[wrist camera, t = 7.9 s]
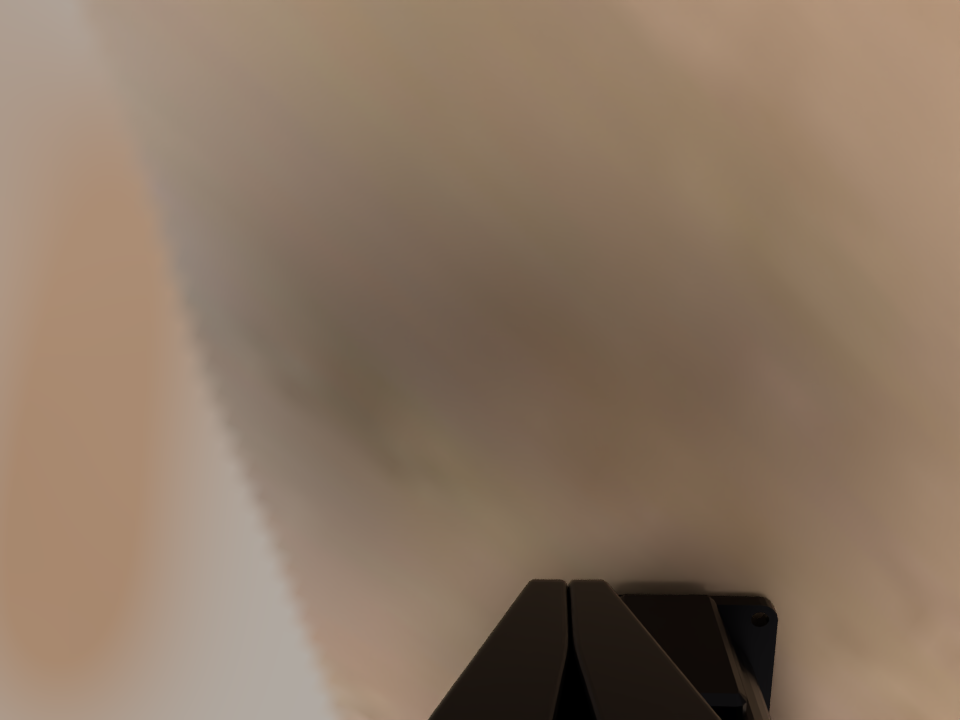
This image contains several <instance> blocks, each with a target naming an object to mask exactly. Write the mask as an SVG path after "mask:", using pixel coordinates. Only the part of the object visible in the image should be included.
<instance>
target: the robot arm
mask: <svg viewBox="0 0 960 720" xmlns="http://www.w3.org/2000/svg"><path fill="white" fill-rule="evenodd" d="M759 612H762V613H765V614H764V615H763V616H762V617H759V618H753V617H752V616H753V615H754V614H756V613H759ZM777 624H778V617H777V613H776V611H775V609H774V606H773V605H772V603H771V602H770V601H769V600H767V599H766V598H763V597H747V596H707V595H651V594H625V595H617V594H616V592H615V591H614V590H613V589H612V588H611V586H610V585H609V584H608V583H607V582H606V581H604V580H572V581H570V583H569V584H568V586H567V583H566V582H565V581H564V580H561V579H533V580H531V581H529V583H528V584H527V585H526V587H525V588H524V589H523V591H522V592H521V593H520V595H519V596H518V597H517V599H516V600H515V602H514V603H513V604H512V606H511V607H510V608H509V610H508V611H507V612H506V614H505V615H504V617H503V618H502V619H501V621H500V622H499V623H498V625H497V626H496V627H495V629H494V630H493V632H492V633H491V634H490V636H489V637H488V638H487V640H486V641H485V642H484V644H483V645H482V647H481V648H480V649H479V651H478V652H477V653H476V655H475V656H474V658H473V659H472V660H471V662H470V663H469V664H468V666H467V667H466V668H465V670H464V671H463V673H462V674H461V675H460V677H459V678H458V679H457V681H456V682H455V683H454V685H453V686H452V688H451V689H450V690H449V692H448V693H447V694H446V696H445V697H444V698H443V700H442V701H441V703H440V704H439V705H438V707H437V708H436V709H435V711H434V712H433V713H432V715H431V716H430V718H429V719H428V720H771V718H770V715H769V708H770V697H771V687H772V676H773V666H774V655H775V645H776V634H777Z"/></svg>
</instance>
